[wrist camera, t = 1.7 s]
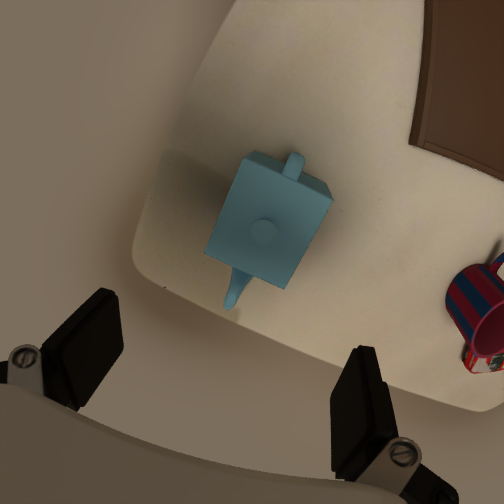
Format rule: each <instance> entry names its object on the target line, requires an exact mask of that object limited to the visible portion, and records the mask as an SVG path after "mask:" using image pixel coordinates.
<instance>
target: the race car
mask: <svg viewBox="0 0 504 504" xmlns="http://www.w3.org/2000/svg"><path fill="white" fill-rule="evenodd" d="M467 346H468V345H467ZM462 361H463V363H464V365H465V367H466V369H468V370H469V371H470V372H471V373H474V374H476V373H487V372H495V371H500V370H503V369H504V351H502V352H501V353H499V354H497V355H495V356H493V357H490V358H478V357H476V356H475V355H474V354H473V353H472V351H471V349H470V348H469V346H468V347H467V349H466V351H465V354H464V358H463V360H462Z"/></svg>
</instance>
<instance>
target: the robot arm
mask: <svg viewBox="0 0 504 504" xmlns="http://www.w3.org/2000/svg"><path fill="white" fill-rule="evenodd" d="M123 348H124V343H123V336H122V328H121V319H120V311H119V301H118V296H116V295H115V292H114V291H112V290H109V289H106V288H100V289H98V290H97V291H96V292H95V293H94V294H93V295H92V296H91V297H90V298H89V299H88V300H86V301H85V302H84V304H82V305H81V306H80V307H79V308H78V309H77V310H76V311H75V312H74V313H73V314H72V315H71V316H70V317H69V318H68V319H67V320H66V321H65V322H64V323H63V324H62V325H61V326H60V327H59V328H58V329H57V330H56V331H55V332H54V333H53V334H52V335H51V336H50V337H49V338H48V339H47V340H46V341H45V342H44V343H43V344H42V347H41V348H40V349H38V348H37V347H35V346H33V345H28V344H27V345H26V344H25V345H21V346H18V347H17V348H15V349H14V350H13V351H12V352H11V353H10V356H9V359H8V361H2V362H0V504H459V496H458V493H457V491H456V489H454V488H453V487H452V486H451V485H450V484H448V483H447V482H446V481H444V480H442V479H441V478H440V477H439V476H437V475H436V474H434V473H433V472H432V471H431V470H429V469H428V468H427V467H425V466H424V465H423V464H421V463H420V462H421V459H422V453H421V450H420V448H419V446H418V445H417V444H416V443H415V442H414V441H413V440H411V439H409V438H405V437H399V435H398V430H397V425H396V420H395V415H394V410H393V406H392V402H391V397H390V393H389V388H388V385H387V383H386V382H383V381H382V377H381V373H380V368H379V364H378V360H377V356H376V352H375V349H374V347H370V346H362V345H359V346H358V348H354V349H353V350H352V352H351V354H350V356H349V358H348V361H347V363H346V365H345V367H344V369H343V371H342V373H341V376H340V377H339V380H338V381H337V383H336V386H335V388H334V389H333V391H332V394H331V397H330V417H331V470H332V471H333V472H335V473H336V476H335V477H336V479H345V481H338V480H328V479H316V478H306V477H297V476H288V475H282V474H274V473H268V472H261V471H256V470H250V469H245V468H240V467H235V466H230V465H226V464H221V463H217V462H213V461H209V460H204V459H201V458H197V457H193V456H190V455H186V454H183V453H180V452H176V451H173V450H170V449H167V448H163V447H160V446H158V445H155V444H152V443H149V442H146V441H143V440H140V439H138V438H135V437H132V436H130V435H127V434H125V433H122V432H120V431H117V430H115V429H112V428H110V427H108V426H105V425H103V424H101V423H99V422H96V421H94V420H92V419H90V418H88V417H86V416H84V415H81V414H79V413H77V411H78V410H79V408H80V407H84V406H85V405H86V403H87V402H88V401H89V398H91V396H92V395H93V393H94V392H95V390H96V389H97V387H98V386H99V384H100V383H101V382H102V380H103V379H104V377H105V376H106V374H107V373H108V371H109V370H110V369H111V367H112V366H113V364H114V363H115V362H116V360H117V359H118V357H119V356H120V354H121V353H122V351H123ZM67 407H68V408H67ZM69 408H70V409H69ZM71 409H72V410H71ZM73 410H74V411H73ZM75 411H76V412H75Z"/></svg>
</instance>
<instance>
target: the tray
mask: <svg viewBox="0 0 504 504" xmlns="http://www.w3.org/2000/svg"><path fill="white" fill-rule="evenodd" d="M409 144H410V145H413V146H416V147H419V148H422V149H425V150H428V151H431V152H433V153H436V154H439V155H442V156H444V157H447V158H450V159H452V160H455V161H457V162H460V163H462V164H465V165H467V166H470V167H472V168H475V169H477V170H479V171H482V172H484V173H486V174H488V175H491V176H493V177H495V178H497V179H499V180H501V181H504V0H425V16H424V35H423V48H422V59H421V68H420V77H419V85H418V92H417V99H416V105H415V112H414V118H413V123H412V129H411V134H410V139H409Z"/></svg>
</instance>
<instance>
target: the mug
mask: <svg viewBox="0 0 504 504" xmlns="http://www.w3.org/2000/svg"><path fill="white" fill-rule="evenodd" d="M503 263H504V253H502V254H501V255H500V256H499V257H498V258H497V259H496V260H495V261H494V262H493V263H492V264H491V266H490V267H488V266H486V265H482V264H477V265H473V266H470V267H468V268H466V269H465V270H463V271H462V272H461V273H460V274H458V275H457V277H456V278H455V279H454V280H453V282H452V283H451V285H450V287H449V289H448V292H447V296H446V308H447V311H448V313H449V314H450V316H451V318H452V319H453V321H454V322H455V324H456V326H457V327H458V329H459V331H460V332H461V334H462V336H463V337H464V339H465V341H466V342H467V344H468V346H469V348H470V349H471V351H472V353H473V354H474V355H475V356H476V357H478V358H490V357H493V356H495V355H497V354H499V353H501V352H502V351H504V281H503V280H502V279H501V278H500V277H499V276H498V275H497V271H498V269H499V267H500V266H501V265H502V264H503Z"/></svg>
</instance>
